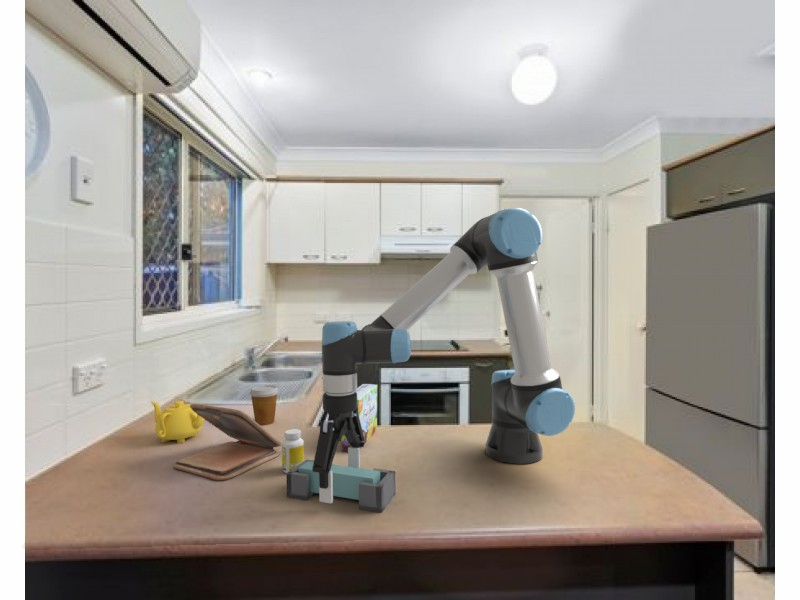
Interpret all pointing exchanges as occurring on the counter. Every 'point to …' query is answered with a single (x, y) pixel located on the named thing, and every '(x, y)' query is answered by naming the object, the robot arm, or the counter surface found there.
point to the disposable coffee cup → (264, 403)
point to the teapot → (177, 422)
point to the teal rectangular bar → (342, 479)
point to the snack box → (365, 412)
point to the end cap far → (298, 483)
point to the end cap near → (377, 492)
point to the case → (230, 445)
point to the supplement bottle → (292, 450)
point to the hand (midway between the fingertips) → (341, 487)
